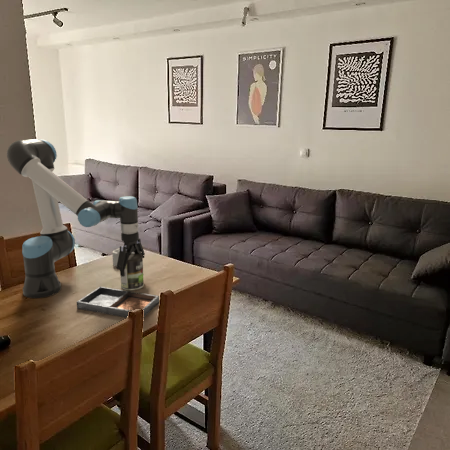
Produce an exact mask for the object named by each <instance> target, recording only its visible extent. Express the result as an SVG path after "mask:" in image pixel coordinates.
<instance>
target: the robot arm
mask: <svg viewBox="0 0 450 450" xmlns="http://www.w3.org/2000/svg"><path fill="white" fill-rule="evenodd" d="M57 157H58V155H57V150H56V148H55V146H54V145H53V144H52V143H51V142H50V141H48V140H46V139H41V138H33V139H19V140H16V141H13V142H11V144H10V145H9V146H8V148H7V149H6V158H7V161H8V164H9V165H10V166H11V167H12V168H13V169H14V171H16V172H17V173H18V174H19V175H20V176H22V177H24V178H29V179H30V180H31V183H32V186H33V187H32V188H33V192H34V196H35V201H36V205H37V209H38V213H39V217H40V218H39V219H40V221H41V222H40V223H41V226H42V229H41V231H40V232H39V233H40V235H39V236H35V237H31V238H28V239H27V240H25V241H23V244H22V247H21V249H22V251H21V254H22V257H23V258H22V259H23V267H24V273H25V278H24V282H23V287H22V294H23V296H24V297H26V298H29V299H41V298H47V297H50V296H53V295H56V294H58V293H59V292H60V291H61V290H62V285H61V284H62V283H61V281H60V280H59V278H58V276H57V273H56V270H55V269H56V268H55V262H57V261H59V260H60V259H63V258H65V257H67V256H69V255H70V254H71V253H72V252H73V250H74V249H75V246H76V239H75V237H74V235H73V233H71V232H70V231H69V229H68V227H67V226H66V225H64V224H63V219H62V214H61V210H60V204H59V203H61V204H62V205H63V207H66V208H67V210H70V211H71V213H74V214H75V215H76V216H77V221H78V223H79V224H80V225H81V226H82V227H85V228H91V227H94V226H96V225H98V224H101V222H103V221H104V222H105V221H106V220H108V219H119V220H120V232H121V233H120V236H121V237H120V238H121V242H123V245H120V246H119V248H120V252H119V257H118V262H117V267H116V266H115V267H116V270H119V274H120V283H121V282H122V283H127V269H126V268H125V267H126V264H127V261H128V258H129V255H131V253H132V252H134V253H137V254H141V255H142V256H143V259H144V258H145V250H144V247H143V244H142V241H141V238H139V235H140V234H139V216H138V214H139V213H138V212H139V211H138V208H139V207H138V200H137V197H135V196H132V195H131V196H129V195H128V196H126V195H125V196H120V197H119V199H118V200H104V199H101V200H100V199H97V200H95V201H93V203H92V202H91V201H89V199H87V198H86V197H84V196H83V195H82V194H81V193H79V192H78V191H76V189H74V188H73V187H72V186H70V185H69V184H68V183H67V182H65V181H64V180H63V179H62V178H60V176H58V175H57V174H55V173H54V170H55V162H56V160H57Z"/></svg>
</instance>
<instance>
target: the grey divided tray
mask: <svg viewBox="0 0 450 450" xmlns="http://www.w3.org/2000/svg"><path fill="white" fill-rule="evenodd" d="M158 304H160V296H159V295H155V294H148V293H142V292H137V291H132V290H124V289H119V288H112V287H106V286H98V287H97V288H95V289H94V290H92V291H91V292H90V293H88V294H86V295H84V296H83V297H81V298H80V299H79V300H76V309H77V310H82V311H83V310H84V311H88V312H93V313H99V314H104V315H110V316H115V317H121V318H126V317H127V316H128V312H129V311H132V310H135V309H143V310H144V317H143V318H145V317H146V316H147V315H148V314H149V313H150V312H151V311H152V310H153V309H154V308H155V307H157V305H158Z"/></svg>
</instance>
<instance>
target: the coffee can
mask: <svg viewBox="0 0 450 450" xmlns="http://www.w3.org/2000/svg"><path fill="white" fill-rule="evenodd" d="M143 256H144V255H143ZM143 256H142V255H141V254H137V253H131V255H129V258H128V261H127V264H126V267H125V268H126V269H127V283H122V282H121V281H120V288H121V290H125V291H136V290H141V289H142V288H143V287H144V286H145V284H144V262H143V261H144V258H143Z"/></svg>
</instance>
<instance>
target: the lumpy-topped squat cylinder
mask: <svg viewBox="0 0 450 450" xmlns="http://www.w3.org/2000/svg"><path fill="white" fill-rule="evenodd" d="M119 252H120V247H118V248H116V249H114V250H112V255H111V256H112V266H114V267H117V262H118V257H119ZM132 253H134V252H132Z"/></svg>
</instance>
